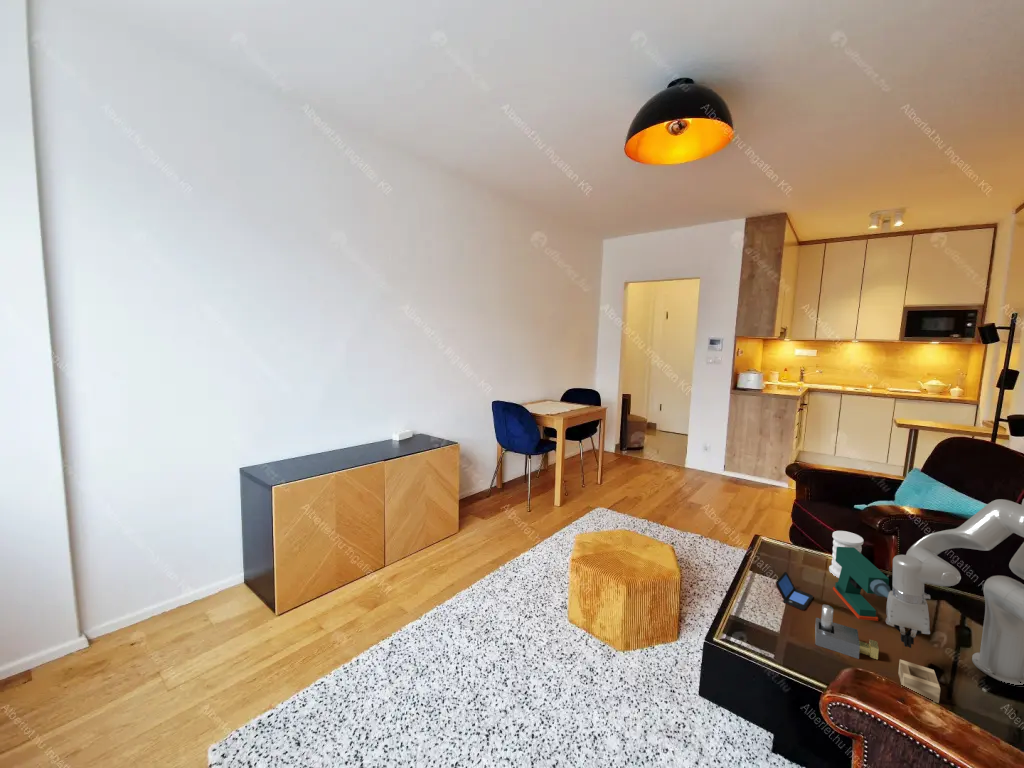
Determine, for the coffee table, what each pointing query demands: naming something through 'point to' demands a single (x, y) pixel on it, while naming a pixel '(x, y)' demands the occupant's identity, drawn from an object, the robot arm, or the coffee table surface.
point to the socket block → (838, 639)
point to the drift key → (869, 648)
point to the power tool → (859, 582)
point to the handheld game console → (792, 593)
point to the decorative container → (843, 541)
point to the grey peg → (827, 618)
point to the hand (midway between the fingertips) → (907, 644)
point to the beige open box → (919, 680)
